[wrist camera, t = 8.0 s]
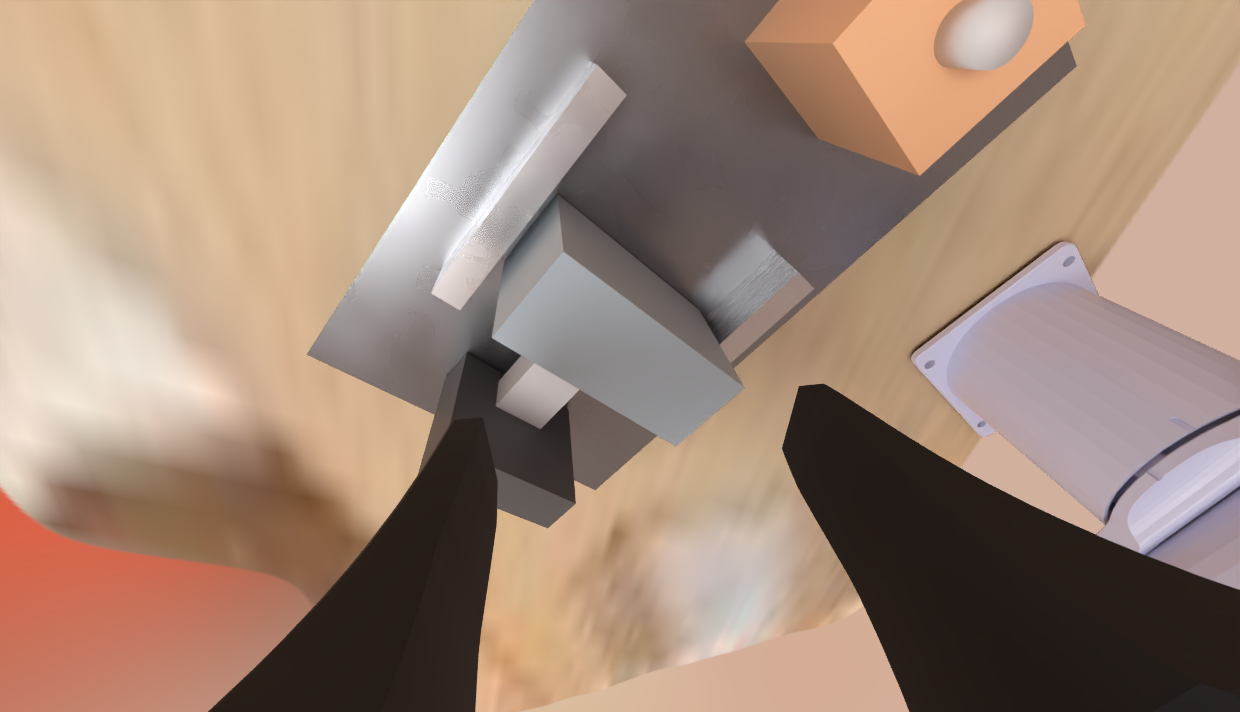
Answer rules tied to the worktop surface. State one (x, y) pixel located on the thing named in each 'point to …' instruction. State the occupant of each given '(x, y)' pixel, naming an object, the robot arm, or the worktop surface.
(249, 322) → the worktop surface
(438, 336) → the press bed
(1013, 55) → the housing block
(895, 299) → the worktop surface
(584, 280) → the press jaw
